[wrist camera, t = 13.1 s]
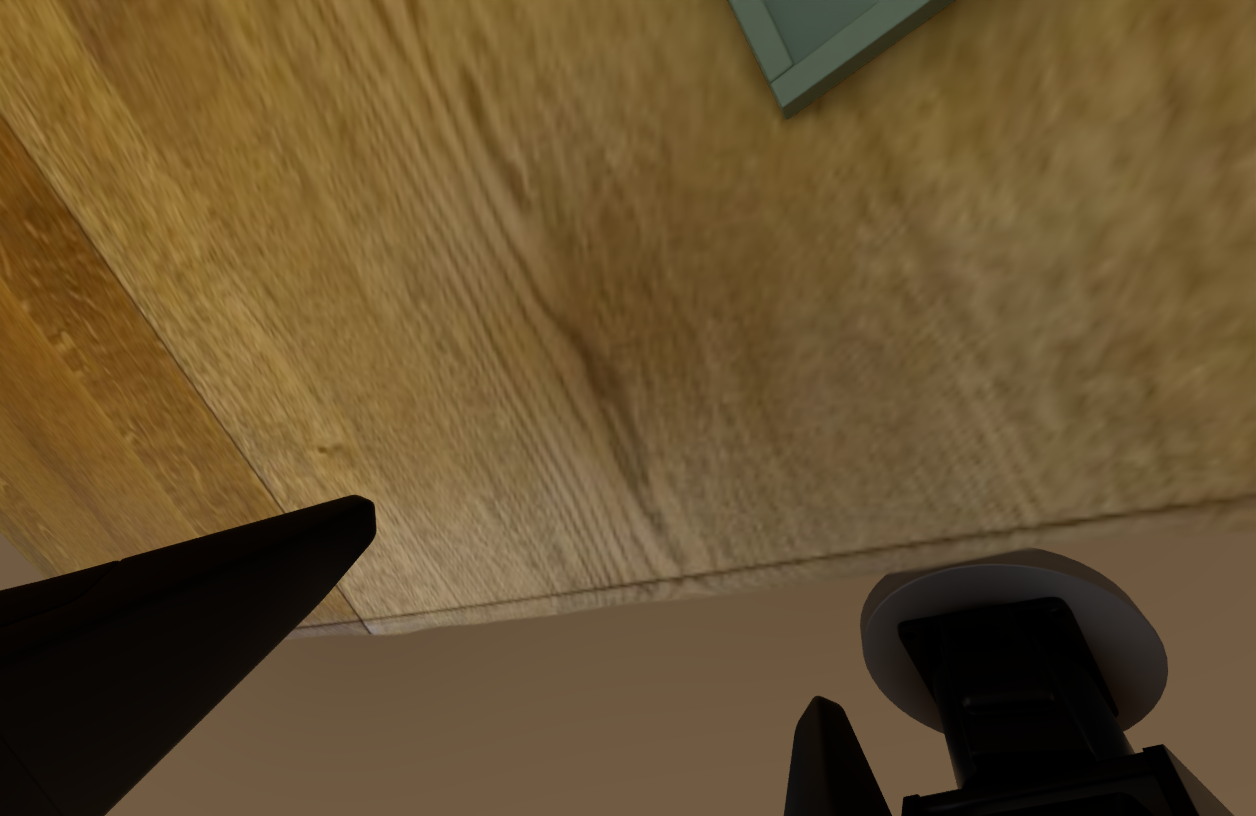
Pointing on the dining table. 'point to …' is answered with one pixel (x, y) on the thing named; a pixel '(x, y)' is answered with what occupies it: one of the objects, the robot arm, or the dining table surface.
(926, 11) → the tray
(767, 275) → the dining table surface
